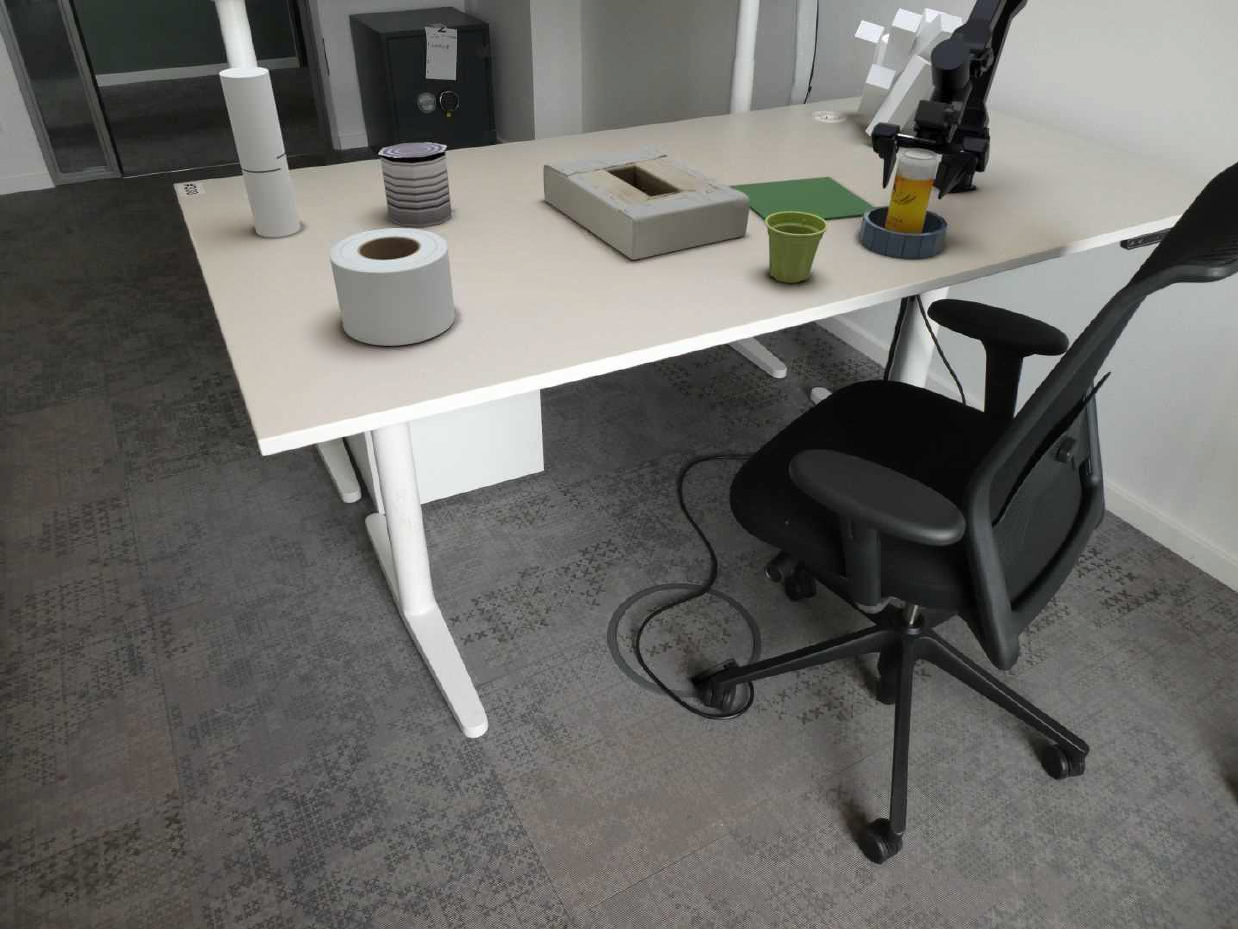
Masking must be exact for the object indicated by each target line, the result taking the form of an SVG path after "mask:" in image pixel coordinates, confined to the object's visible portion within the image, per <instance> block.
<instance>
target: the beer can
mask: <svg viewBox="0 0 1238 929" xmlns="http://www.w3.org/2000/svg"><path fill="white" fill-rule="evenodd" d="M937 155H938V154H936V153H934V152H932V151H930V150H926V149H918V148H911V149H908V148H905V149H904V150H902V153H901V154H900V155H899V157H898V159H897V165H896V170H895V175H894V181H893V185H892V188H891V194H890V199H889V204H888V205H889V209H888V214H887V219H886V224H885V229H887V230H890V231H895V232H901V233H909V234H921V233H922V228H923V224H924V220H925V215H926V211H928V207H929V203H930V198H931V193H932V190H933V185H934V184H933V181H934V179H935V177H936V173H937V169H938V164H939V161H938V157H937Z"/></svg>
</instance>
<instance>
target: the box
mask: <svg viewBox="0 0 1238 929" xmlns="http://www.w3.org/2000/svg"><path fill="white" fill-rule="evenodd" d="M542 172H543V173H542V174H543V193H544V194H543V195H544V200H545V201H546V202H547V203H549V205H551V206H552V207H554V208H556V210H559V211H560V212H561V213H563V214H564V215H566V216H567V217H568V218H570V219H572V220H573V221H574V222H576V223H578V224H579V225H581V227H583V228H584V229H586V230H588V231H590V232H591V233H592V234H594V235H595V236H597V237H598V239H599V238H600V239H601V240H602V241H603V242H605V243H607V244H608V245H609V246H611V247H613V248H614V249H615V250H617V251H618V252H620V253H621V254H623V255H624V256H625V257H627V258H629V259H630V260H632V261H634V260H640V259H644V258H649V257H653V256H658V255H662V254H667V253H672V252H676V251H677V252H678V251H680V250H685V249H690V248H694V247H698V246H703V245H708V244H713V243H717V242H722V241H727V240H732V239H735V238H740V237H743V236H745V235H746V233H747V229H748V222H749V215H750V207H749V206H750V199H749V197H748V196H747V195H746V194H744V193H743V192H741V191H738V190H736V189H733V188H731V187H729V186H730V185H728V184H726V183H721V182H719V181H717V180H715V179H712V178H710V177H709V176H707V175H705V174H703V173H701V172H698V171H697V170H695V169H693V168H691V167H689V166H687V165H686V164H683V163H681V162H679V161H677V160H676V159H674V158H671V157H669V156H668V155H667V154H666V153H664V152H661V151H660V150H659V149H658V148H656V147H653V146H651V145H650V146H649V145H648V146H644V147H639V148H634V149H629V150H623V151H622V150H621V151H617V152H612V153H607V154H606V153H605V154H599V155H593V156H587V157H581V158H576V159H570V160H563V161H551V162H546V163H545V164H543V171H542Z"/></svg>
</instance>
